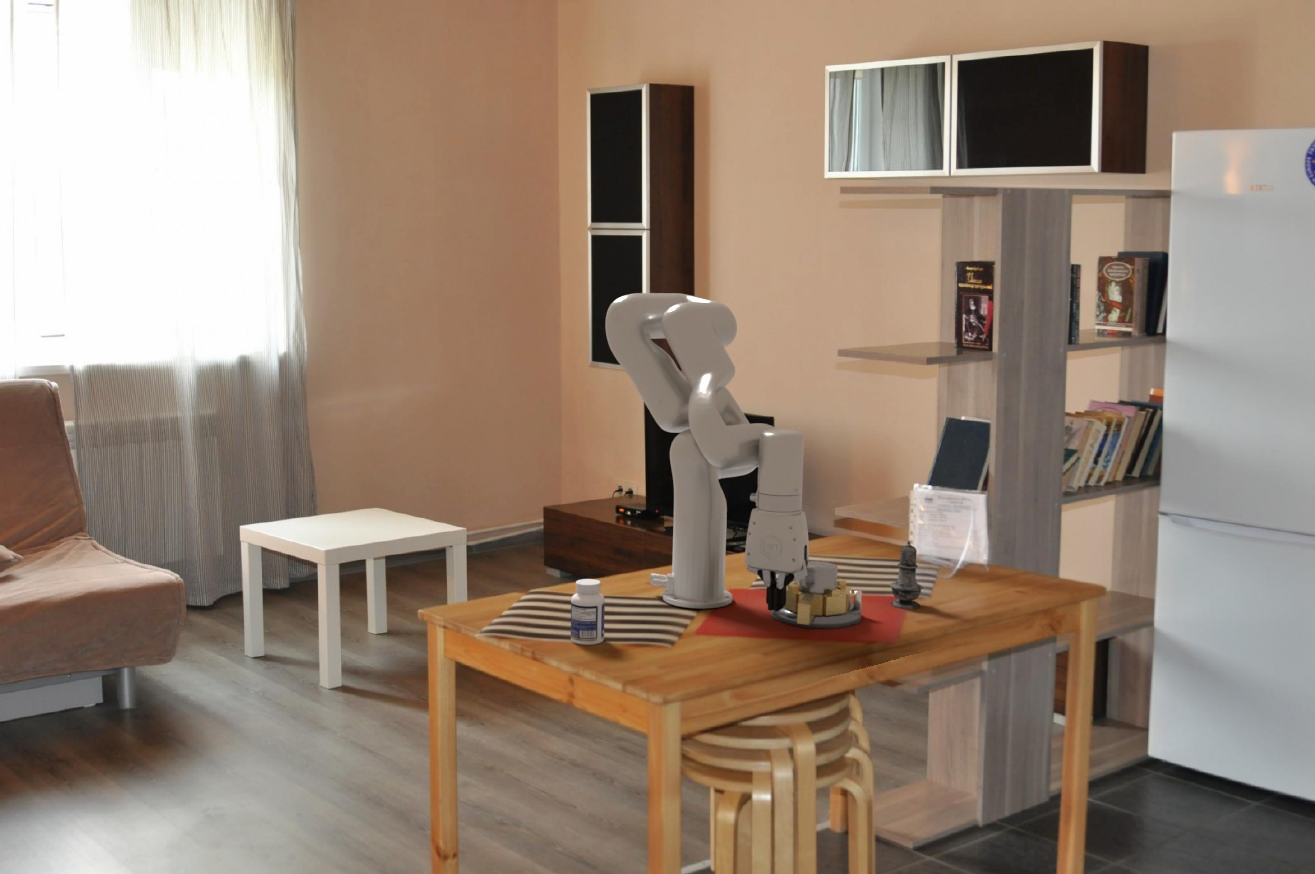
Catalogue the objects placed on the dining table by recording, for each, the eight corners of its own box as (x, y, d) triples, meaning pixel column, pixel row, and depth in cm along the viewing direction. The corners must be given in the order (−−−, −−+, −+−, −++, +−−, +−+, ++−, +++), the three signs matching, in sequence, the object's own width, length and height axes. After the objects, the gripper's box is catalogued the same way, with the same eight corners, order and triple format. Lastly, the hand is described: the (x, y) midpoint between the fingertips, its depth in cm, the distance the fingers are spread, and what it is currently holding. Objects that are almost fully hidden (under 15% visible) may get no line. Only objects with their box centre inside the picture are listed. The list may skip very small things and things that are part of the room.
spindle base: (762, 622, 227) (764, 571, 226) (780, 600, 242) (782, 552, 241) (853, 632, 223) (856, 580, 222) (866, 609, 238) (869, 560, 236)
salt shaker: (921, 610, 238) (925, 545, 237) (888, 607, 239) (892, 542, 238) (922, 602, 244) (925, 538, 242) (889, 599, 245) (893, 536, 243)
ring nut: (789, 594, 239) (790, 572, 239) (854, 601, 236) (855, 578, 235) (768, 620, 222) (769, 596, 222) (837, 627, 219) (839, 603, 218)
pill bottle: (586, 634, 218) (587, 575, 216) (610, 640, 214) (612, 581, 213) (563, 640, 214) (564, 581, 212) (588, 647, 210) (589, 587, 209)
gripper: (729, 501, 224) (726, 607, 226) (812, 511, 216) (808, 620, 219) (748, 495, 230) (745, 598, 233) (829, 504, 223) (825, 610, 225)
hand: (775, 609), depth 226 cm, fingers closed
